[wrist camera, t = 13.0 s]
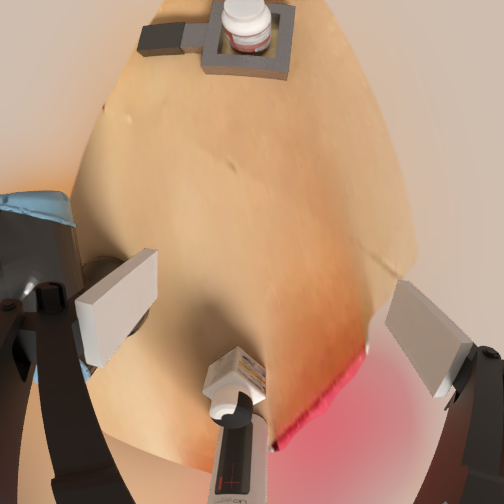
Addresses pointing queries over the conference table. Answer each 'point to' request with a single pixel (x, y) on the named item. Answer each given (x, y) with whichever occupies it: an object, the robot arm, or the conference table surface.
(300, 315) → the conference table surface
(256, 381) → the container
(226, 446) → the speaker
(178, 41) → the grey square pan
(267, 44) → the pill bottle
